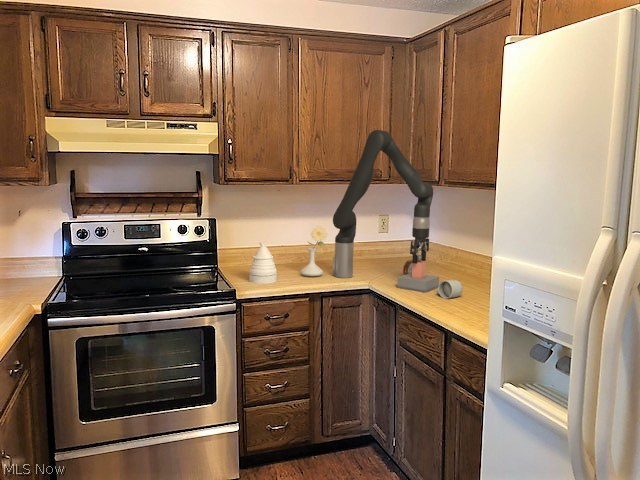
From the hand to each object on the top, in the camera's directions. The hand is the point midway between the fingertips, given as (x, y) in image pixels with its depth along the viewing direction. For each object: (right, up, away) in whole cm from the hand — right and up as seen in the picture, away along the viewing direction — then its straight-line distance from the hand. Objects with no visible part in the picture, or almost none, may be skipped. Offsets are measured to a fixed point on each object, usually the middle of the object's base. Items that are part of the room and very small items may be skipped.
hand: (419, 262), depth 244 cm
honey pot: (-72, -9, +10) cm, 73 cm away
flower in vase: (-48, -8, +23) cm, 54 cm away
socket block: (0, -12, +2) cm, 12 cm away
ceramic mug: (+10, -15, -14) cm, 23 cm away
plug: (0, -11, +1) cm, 11 cm away
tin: (+2, -9, +27) cm, 29 cm away
